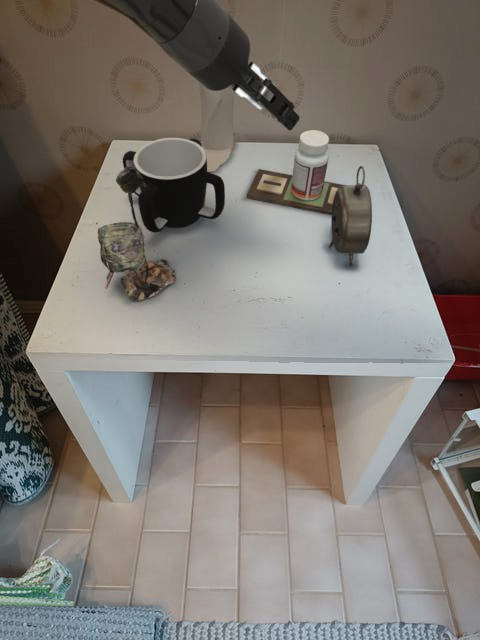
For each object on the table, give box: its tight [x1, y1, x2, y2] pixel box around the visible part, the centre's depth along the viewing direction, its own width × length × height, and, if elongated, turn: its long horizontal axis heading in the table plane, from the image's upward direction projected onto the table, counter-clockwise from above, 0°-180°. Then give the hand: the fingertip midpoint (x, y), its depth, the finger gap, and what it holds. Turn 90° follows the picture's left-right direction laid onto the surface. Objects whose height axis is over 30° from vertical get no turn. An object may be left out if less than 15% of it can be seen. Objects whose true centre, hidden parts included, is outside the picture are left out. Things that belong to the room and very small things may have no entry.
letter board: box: [246, 168, 347, 216], centre depth 84 cm, size 22×9×1 cm, turn 73°
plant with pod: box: [94, 166, 177, 302], centre depth 63 cm, size 8×11×20 cm
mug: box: [122, 137, 226, 234], centre depth 76 cm, size 16×16×12 cm
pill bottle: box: [291, 129, 330, 201], centre depth 79 cm, size 6×6×11 cm
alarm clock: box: [328, 165, 373, 267], centre depth 69 cm, size 11×5×16 cm, turn 179°
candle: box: [198, 81, 235, 173], centre depth 85 cm, size 7×14×20 cm, turn 167°
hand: (276, 110), depth 62 cm, fingers open, 8 cm apart
